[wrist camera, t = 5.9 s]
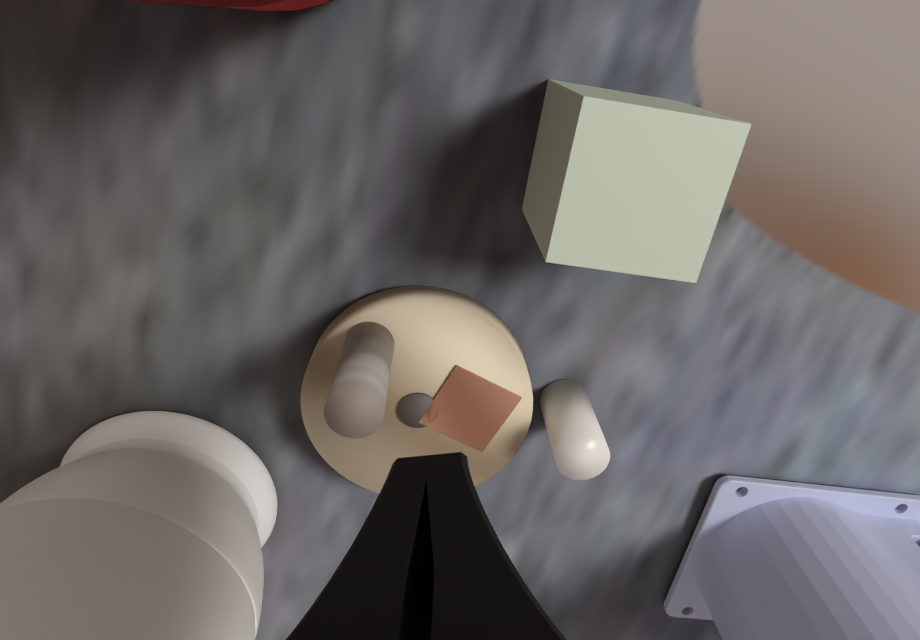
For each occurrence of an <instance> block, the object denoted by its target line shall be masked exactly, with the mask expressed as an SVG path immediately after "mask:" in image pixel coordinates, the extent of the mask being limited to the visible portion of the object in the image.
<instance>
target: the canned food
mask: <svg viewBox="0 0 920 640" xmlns="http://www.w3.org/2000/svg"><path fill="white" fill-rule="evenodd" d="M126 1H139V2H153V3H167V4H180V5H194V6H208V7H221V8H235V9H249V10H262V11H295V10H301V9H305V8H309V7H314V6H318V5H322V4H325V3H327V2H329V1H331V0H126Z"/></svg>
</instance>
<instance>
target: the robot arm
mask: <svg viewBox="0 0 920 640" xmlns="http://www.w3.org/2000/svg"><path fill="white" fill-rule="evenodd" d="M740 487H742V489H740V490H737V489H738V488H740ZM664 608H665V611H666V613H667V614H668V615H669V616H672V617H679V618H691V619H703V620H713V621H714V623H715V625H716V627H717V629H718V631H719V634H720V636H721V638H722V640H920V496H919V495H910V494H900V493H891V492H881V491H872V490H863V489H853V488H844V487H835V486H825V485H816V484H806V483H797V482H788V481H778V480H769V479H760V478H750V477H741V476H731V475H729V476H723V477H721V478H720V479H718V480H717V481H716V483H715V484H714V487H713V489H712V491H711V494H710V496H709V499H708V501H707V503H706V506H705V508H704V510H703V513H702V515H701V517H700V520H699V522H698V524H697V527H696V529H695V531H694V534H693V536H692V538H691V541H690V543H689V545H688V548H687V550H686V552H685V555H684V557H683V559H682V562H681V564H680V566H679V569H678V571H677V574H676V576H675V578H674V581H673V583H672V585H671V588H670V590H669V592H668V595H667V597H666V599H665V602H664ZM286 640H566V639H565V638H564V636H563V635H562V634H561V633H560V631H559V630H558V629H557V627H556V626H555V625H554V623H553V622H552V621H551V619H550V618H549V617H548V615H547V614H546V613H545V611H544V610H543V609H542V607H541V606H540V604H539V603H538V601H537V600H536V599H535V597H534V596H533V594H532V593H531V591H530V590H529V589H528V587H527V585H526V584H525V582H524V581H523V579H522V578H521V576H520V575H519V573H518V571H517V570H516V568H515V567H514V565H513V563H512V562H511V560H510V558H509V556H508V555H507V553H506V551H505V550H504V548H503V546H502V544H501V542H500V541H499V539H498V537H497V535H496V533H495V531H494V529H493V527H492V525H491V523H490V521H489V519H488V517H487V515H486V513H485V511H484V509H483V506H482V504H481V502H480V500H479V497H478V494H477V492H476V489H475V487H474V484H473V481H472V478H471V474H470V471H469V466H468V459H467V456H466V455H464V454H463V453H462V452H455V453H445V454H435V455H425V456H414V457H404V458H397V459H396V460H395V462H394V463H393V464H392V466H391V469H390V472H389V474H388V476H387V479H386V481H385V483H384V485H383V487H382V490H381V492H380V494H379V496H378V498H377V500H376V502H375V504H374V506H373V508H372V510H371V512H370V514H369V515H368V517H367V519H366V521H365V523H364V524H363V526H362V528H361V530H360V532H359V533H358V535H357V537H356V539H355V541H354V542H353V544H352V546H351V547H350V549H349V551H348V552H347V554H346V555H345V557H344V559H343V560H342V562H341V563H340V565H339V566H338V568H337V570H336V571H335V573H334V574H333V576H332V578H331V579H330V581H329V582H328V584H327V585H326V587H325V588H324V589H323V591H322V592H321V594H320V595H319V597H318V598H317V599H316V601H315V602H314V604H313V605H312V606H311V608H310V609H309V610H308V612H307V613H306V614H305V616H304V617H303V618H302V620H301V621H300V622H299V624H298V625H297V626H296V628H295V629H294V630H293V631H292V633H291V634H290V635H289V636H288V638H287V639H286Z"/></svg>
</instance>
